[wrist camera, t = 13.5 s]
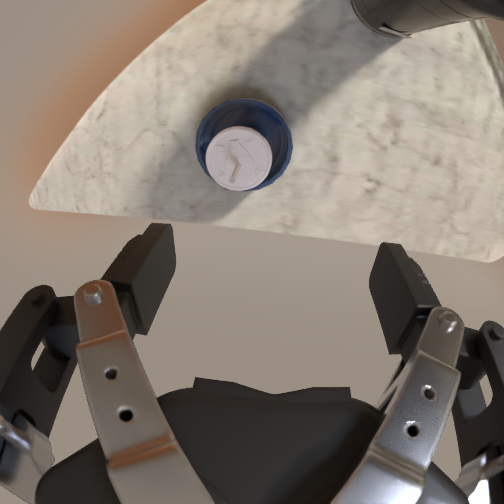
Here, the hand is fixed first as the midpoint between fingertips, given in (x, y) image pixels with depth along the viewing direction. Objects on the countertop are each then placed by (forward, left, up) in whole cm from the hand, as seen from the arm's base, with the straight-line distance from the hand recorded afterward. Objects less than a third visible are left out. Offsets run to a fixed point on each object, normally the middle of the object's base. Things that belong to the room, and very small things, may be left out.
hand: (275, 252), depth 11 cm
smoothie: (-1, -4, -27) cm, 28 cm away
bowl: (-1, -4, -28) cm, 28 cm away
